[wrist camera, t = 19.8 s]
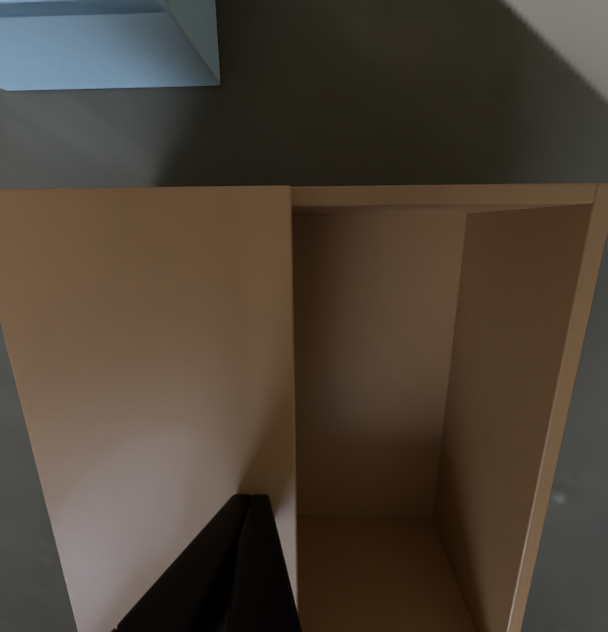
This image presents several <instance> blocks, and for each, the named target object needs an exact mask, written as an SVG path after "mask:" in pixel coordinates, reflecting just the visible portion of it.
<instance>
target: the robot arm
mask: <svg viewBox="0 0 608 632" xmlns="http://www.w3.org/2000/svg"><path fill="white" fill-rule="evenodd" d="M111 632H302V628H301V624H300V620H299V616H298V612H297V608H296V604H295V600H294V596H293V591H292V587H291V583H290V579H289V575H288V571H287V567H286V563H285V559H284V555H283V551H282V546H281V542H280V538H279V534H278V530H277V526H276V522H275V518H274V514H273V510H272V506H271V501H270V498H269V495H267V494H254V495H252V497H251V496H250V495H249V494H234V495H232V496H231V498H230V499H229V500H228V501H227V502H226V503H225V504H224V505H223V507H222V508H221V509H220V510H219V511H218V512H217V513H216V514H215V516H214V517H213V518H212V519H211V520H210V521H209V522H208V523H207V525H206V526H205V527H204V528H203V529H202V530H201V531H200V532H199V533H198V535H197V536H196V537H195V538H194V539H193V540H192V541H191V542H190V544H189V545H188V546H187V547H186V548H185V549H184V550H183V551H182V553H181V554H180V555H179V556H178V557H177V558H176V559H175V560H174V562H173V563H172V564H171V565H170V566H169V567H168V568H167V569H166V570H165V572H164V573H163V574H162V575H161V576H160V577H159V578H158V579H157V581H156V582H155V583H154V584H153V585H152V586H151V587H150V588H149V590H148V591H147V592H146V593H145V594H144V595H143V596H142V597H141V599H140V600H139V601H138V602H137V603H136V604H135V605H134V606H133V607H132V609H131V610H130V611H129V612H128V613H127V614H126V615H125V616H124V618H123V619H122V620H121V621H120V622H119V623H118V625H117V629H116V628H114V629H113V630H112V631H111Z"/></svg>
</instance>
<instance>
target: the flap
mask: <svg viewBox="0 0 608 632" xmlns="http://www.w3.org/2000/svg"><path fill="white" fill-rule="evenodd" d="M0 323H1V327H2V331H3V335H4V339H5V343H6V347H7V351H8V355H9V359H10V363H11V367H12V371H13V374H14V378H15V382H16V386H17V390H18V394H19V398H20V402H21V406H22V410H23V414H24V418H25V422H26V426H27V430H28V434H29V438H30V442H31V446H32V450H33V454H34V458H35V462H36V466H37V470H38V474H39V478H40V482H41V486H42V490H43V494H44V498H45V502H46V506H47V510H48V514H49V518H50V522H51V526H52V530H53V534H54V538H55V542H56V546H57V550H58V554H59V558H60V562H61V566H62V570H63V574H64V578H65V582H66V586H67V590H68V594H69V598H70V602H71V606H72V610H73V614H74V618H75V622H76V626H77V630H78V632H111V631H112V630H113V629H114V628H116V629H117V625H118V623H119V622H120V621H121V620H122V619H123V618H124V616H125V615H126V614H127V613H128V612H129V611H130V610H131V609H132V607H133V606H134V605H135V604H136V603H137V602H138V601H139V600H140V599H141V597H142V596H143V595H144V594H145V593H146V592H147V591H148V590H149V588H150V587H151V586H152V585H153V584H154V583H155V582H156V581H157V579H158V578H159V577H160V576H161V575H162V574H163V573H164V572H165V570H166V569H167V568H168V567H169V566H170V565H171V564H172V563H173V562H174V560H175V559H176V558H177V557H178V556H179V555H180V554H181V553H182V551H183V550H184V549H185V548H186V547H187V546H188V545H189V544H190V542H191V541H192V540H193V539H194V538H195V537H196V536H197V535H198V533H199V532H200V531H201V530H202V529H203V528H204V527H205V526H206V525H207V523H208V522H209V521H210V520H211V519H212V518H213V517H214V516H215V514H216V513H217V512H218V511H219V510H220V509H221V508H222V507H223V505H224V504H225V503H226V502H227V501H228V500H229V499H230V498H231V496H232V495H234V494H249V495H250V496H251V497H252V495H254V494H267V495H269V498H270V501H271V506H272V510H273V514H274V518H275V522H276V526H277V530H278V534H279V538H280V542H281V546H282V551H283V555H284V559H285V563H286V567H287V571H288V575H289V579H290V583H291V587H292V591H293V596H294V600H295V604H296V608H297V612H298V553H297V494H296V434H295V375H294V315H293V256H292V196H291V187H290V186H289V185H275V186H197V187H118V188H39V189H0ZM298 616H299V612H298Z"/></svg>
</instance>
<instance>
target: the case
mask: <svg viewBox="0 0 608 632" xmlns="http://www.w3.org/2000/svg"><path fill="white" fill-rule="evenodd" d="M219 85H220V68H219V53H218V37H217V21H216V5H215V0H0V88H2V89H4V90H6V91H14V90H56V89H97V88H139V87H180V86H219Z"/></svg>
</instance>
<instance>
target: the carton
mask: <svg viewBox="0 0 608 632" xmlns="http://www.w3.org/2000/svg"><path fill="white" fill-rule="evenodd" d="M291 196H292V256H293V315H294V375H295V434H296V494H297V553H298V612H299V620H300V624H301V628H302V632H520V630H521V626H522V621H523V617H524V612H525V608H526V603H527V598H528V594H529V589H530V585H531V580H532V575H533V571H534V566H535V562H536V557H537V552H538V548H539V543H540V539H541V534H542V530H543V525H544V520H545V516H546V511H547V507H548V502H549V497H550V493H551V488H552V484H553V479H554V474H555V470H556V465H557V461H558V456H559V452H560V447H561V442H562V438H563V433H564V429H565V424H566V419H567V415H568V410H569V406H570V401H571V397H572V392H573V387H574V383H575V378H576V374H577V369H578V364H579V360H580V355H581V351H582V346H583V341H584V337H585V332H586V328H587V323H588V319H589V314H590V309H591V305H592V300H593V296H594V291H595V286H596V282H597V277H598V273H599V268H600V263H601V259H602V254H603V250H604V245H605V241H606V236H607V231H608V183H535V184H457V185H379V186H301V187H291Z"/></svg>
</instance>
